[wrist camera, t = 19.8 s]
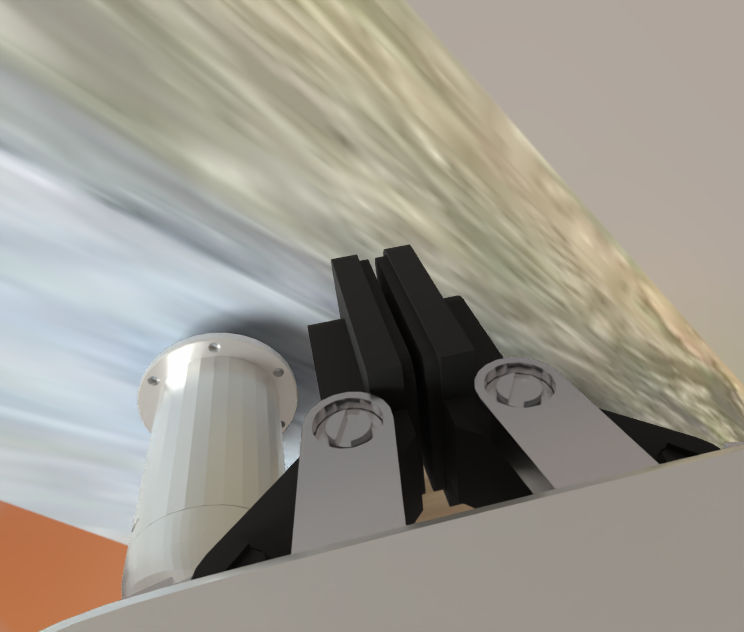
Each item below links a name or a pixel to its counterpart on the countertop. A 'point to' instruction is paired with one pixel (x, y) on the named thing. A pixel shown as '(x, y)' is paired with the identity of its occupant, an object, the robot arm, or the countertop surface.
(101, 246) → the countertop surface
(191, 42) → the countertop surface
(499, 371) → the robot arm
